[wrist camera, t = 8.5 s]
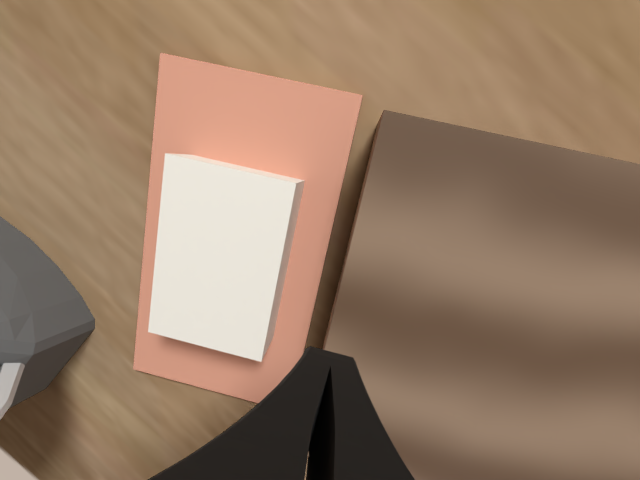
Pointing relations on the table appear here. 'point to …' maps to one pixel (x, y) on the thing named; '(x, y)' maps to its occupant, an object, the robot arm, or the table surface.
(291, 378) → the robot arm
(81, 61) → the table surface
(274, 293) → the tile
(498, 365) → the plate
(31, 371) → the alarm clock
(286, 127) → the mat
